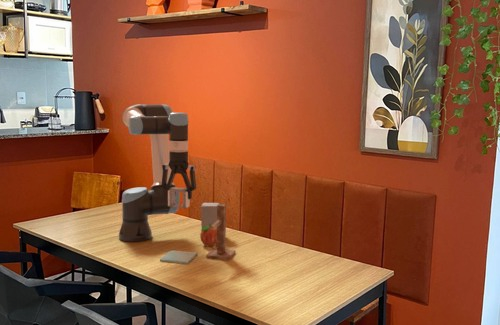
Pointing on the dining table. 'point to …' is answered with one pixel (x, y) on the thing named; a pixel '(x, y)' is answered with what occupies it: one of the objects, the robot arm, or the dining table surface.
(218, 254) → the stand
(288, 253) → the dining table surface
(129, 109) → the robot arm
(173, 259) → the coaster
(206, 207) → the skincare box
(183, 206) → the c link
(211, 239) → the fruit
